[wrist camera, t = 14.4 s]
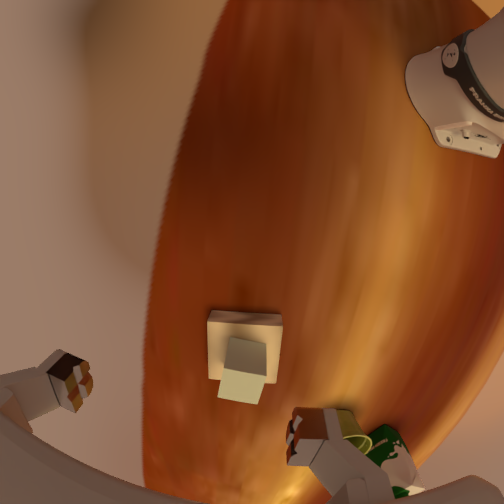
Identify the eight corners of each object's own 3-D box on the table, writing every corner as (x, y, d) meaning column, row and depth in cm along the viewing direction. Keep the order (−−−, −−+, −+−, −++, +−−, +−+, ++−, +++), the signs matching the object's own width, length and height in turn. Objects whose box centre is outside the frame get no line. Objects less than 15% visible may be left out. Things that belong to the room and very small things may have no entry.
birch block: (281, 313, 40) (282, 326, 36) (275, 367, 42) (275, 383, 38) (212, 308, 40) (207, 321, 36) (212, 363, 42) (208, 378, 38)
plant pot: (305, 416, 44) (310, 451, 36) (351, 395, 43) (364, 428, 34) (324, 439, 46) (330, 470, 37) (366, 420, 45) (377, 450, 36)
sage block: (266, 344, 36) (266, 376, 30) (258, 371, 38) (257, 404, 31) (230, 336, 36) (223, 368, 30) (224, 364, 38) (217, 397, 31)
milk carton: (385, 419, 45) (416, 491, 25) (403, 431, 46) (432, 494, 26) (353, 442, 46) (373, 514, 27) (373, 452, 47) (394, 516, 28)
